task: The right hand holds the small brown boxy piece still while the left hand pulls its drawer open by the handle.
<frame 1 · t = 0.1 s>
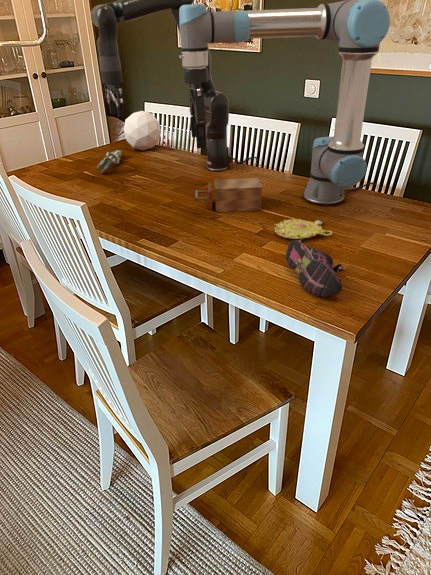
left hand: (117, 115, 171), 29 cm above the table, tool pointing down, fingers open, 8 cm apart
right hand: (198, 142, 139), 28 cm above the table, tool pointing down, fingers open, 13 cm apart
drawer: (222, 195, 165), point 4 cm above the table, slide at 1.3 cm
figurine: (111, 165, 215), on the table
athletic shoe: (317, 280, 121), on the table
decorative object: (301, 233, 146), on the table
brown boxy piece: (237, 205, 167), on the table
sphere: (144, 149, 238), on the table
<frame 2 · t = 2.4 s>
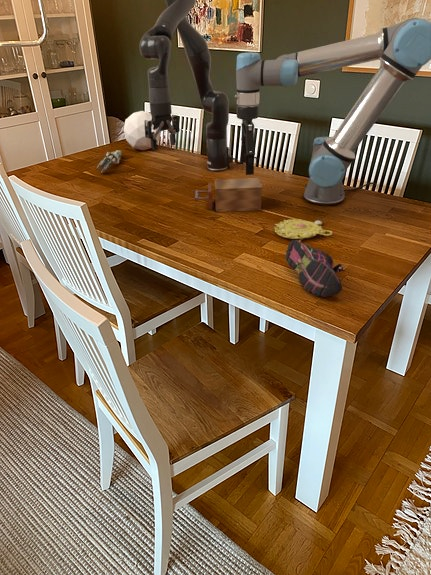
left hand: (163, 147, 165), 20 cm above the table, tool pointing down, fingers open, 8 cm apart
right hand: (247, 168, 158), 15 cm above the table, tool pointing down, fingers open, 13 cm apart
nothing on the table moved.
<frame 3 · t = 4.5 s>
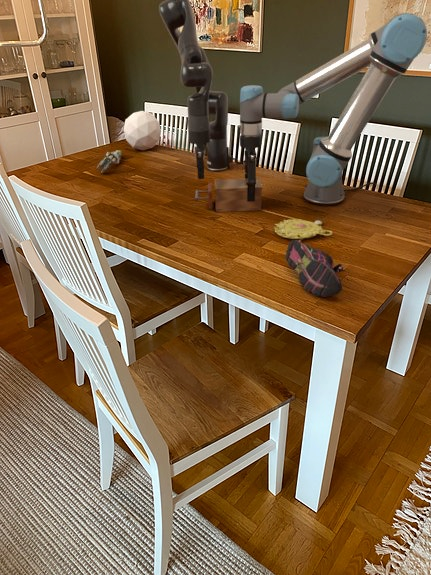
left hand: (201, 175, 160), 12 cm above the table, tool pointing down, fingers open, 6 cm apart
right hand: (249, 195, 165), 4 cm above the table, tool pointing down, fingers closed on brown boxy piece, 10 cm apart
brown boxy piece: (237, 205, 167), on the table, touching right hand
everything else where it was.
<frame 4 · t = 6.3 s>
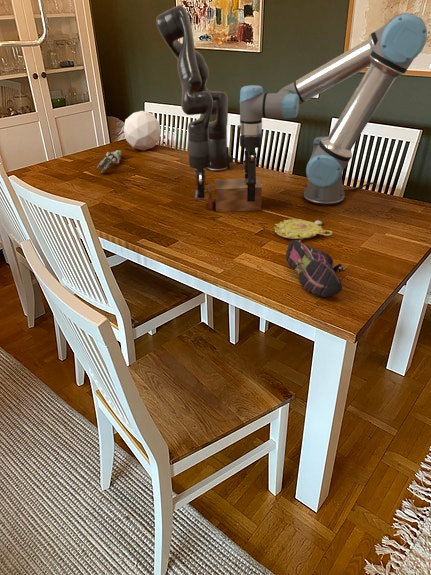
left hand: (201, 199, 165), 3 cm above the table, tool pointing down, fingers closed
right hand: (249, 195, 165), 4 cm above the table, tool pointing down, fingers closed on brown boxy piece, 10 cm apart
drawer: (222, 195, 165), point 4 cm above the table, slide at 1.3 cm, touching left hand
brown boxy piece: (237, 205, 167), on the table, touching right hand
everything else where it was.
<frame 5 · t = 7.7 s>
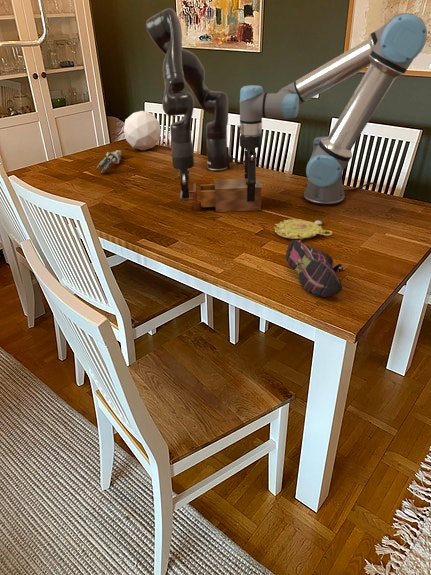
left hand: (186, 199, 165), 3 cm above the table, tool pointing down, fingers closed
right hand: (249, 195, 165), 4 cm above the table, tool pointing down, fingers closed on brown boxy piece, 10 cm apart
drawer: (207, 195, 165), point 4 cm above the table, slide at 6.9 cm, touching left hand
brown boxy piece: (237, 205, 167), on the table, touching right hand
everything else where it was.
when the right hand's fingers open (4 cm above the table, at t = 9.7 s): brown boxy piece stays where it is, on the table.
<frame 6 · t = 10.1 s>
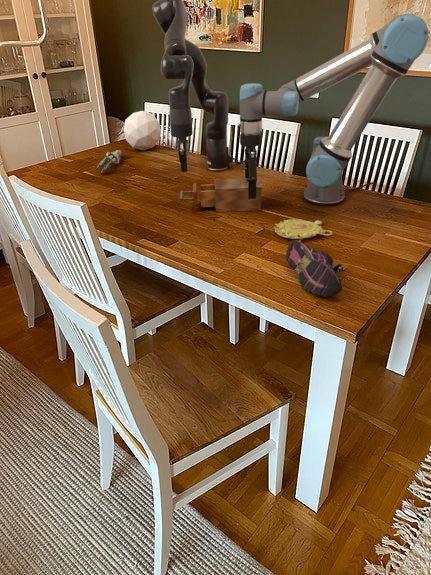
left hand: (184, 171, 160), 14 cm above the table, tool pointing down, fingers closed
right hand: (250, 191, 164), 5 cm above the table, tool pointing down, fingers open, 13 cm apart
drawer: (207, 195, 165), point 4 cm above the table, slide at 6.9 cm
brown boxy piece: (237, 205, 167), on the table
everything else where it was.
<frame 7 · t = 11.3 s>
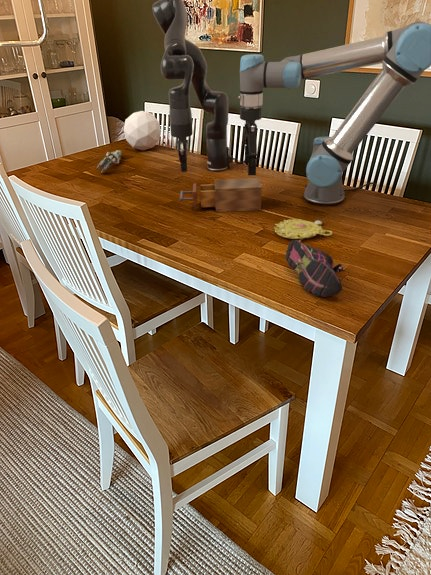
left hand: (184, 171, 160), 14 cm above the table, tool pointing down, fingers closed
right hand: (250, 169, 160), 14 cm above the table, tool pointing down, fingers open, 13 cm apart
nothing on the table moved.
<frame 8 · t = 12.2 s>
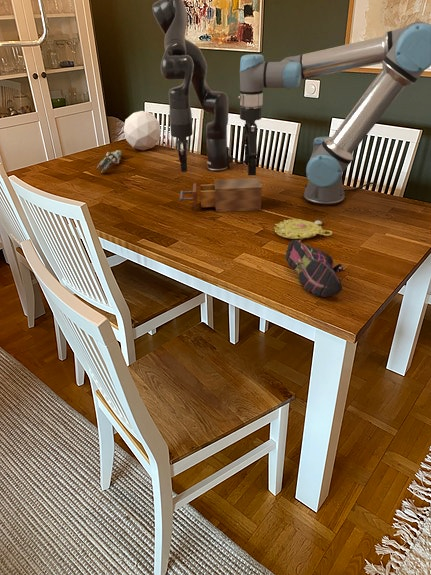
left hand: (184, 171, 160), 14 cm above the table, tool pointing down, fingers closed
right hand: (250, 169, 160), 14 cm above the table, tool pointing down, fingers open, 13 cm apart
nothing on the table moved.
at the end: drawer slide at 6.9 cm; brown boxy piece tilted 0°; brown boxy piece never tilted more than 1° during the clip; brown boxy piece moved 0.1 cm from its start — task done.
